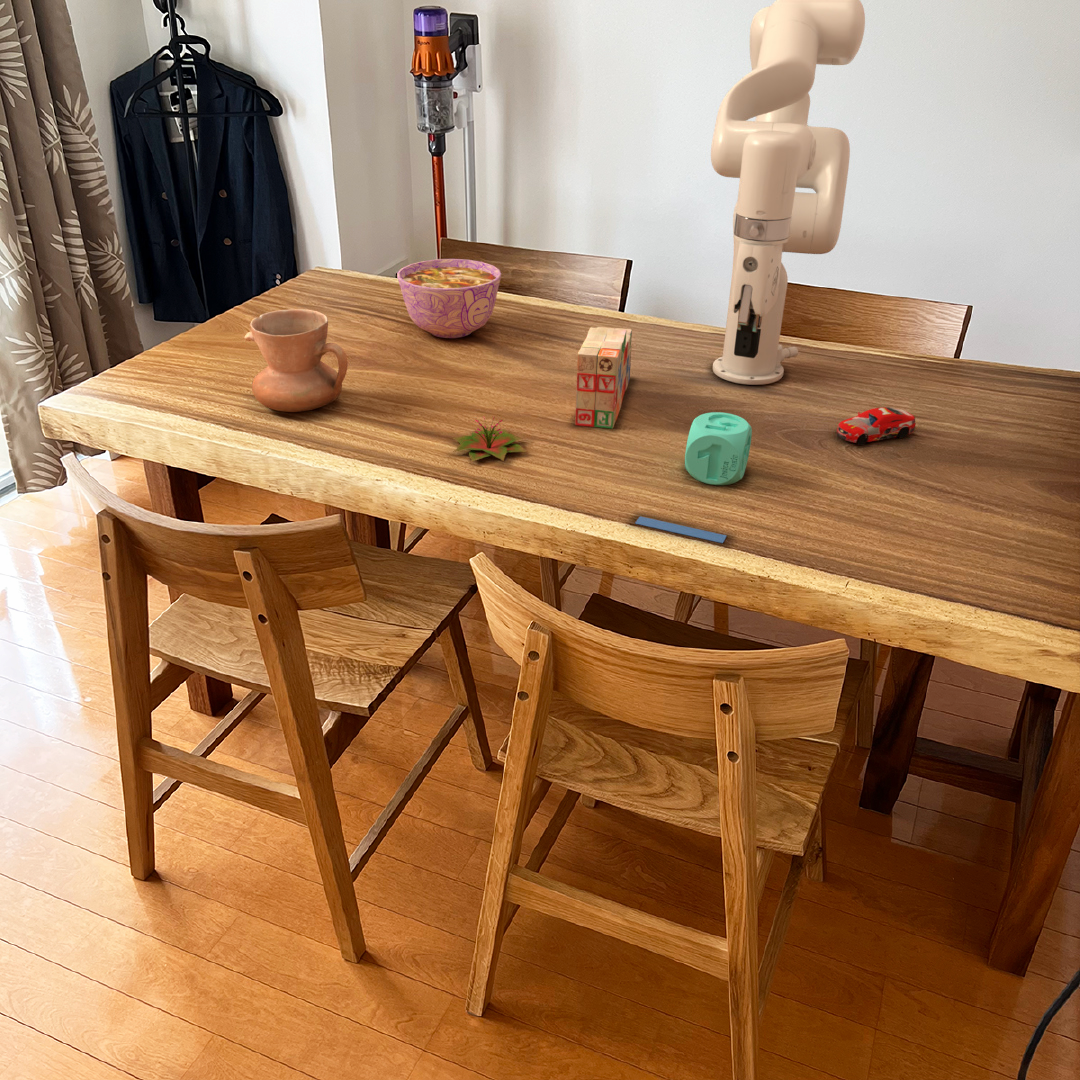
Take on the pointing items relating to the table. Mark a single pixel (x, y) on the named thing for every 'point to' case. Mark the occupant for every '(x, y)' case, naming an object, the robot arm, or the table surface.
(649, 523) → the tape line
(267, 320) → the ceramic jug
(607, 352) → the stack of blocks
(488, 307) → the bowl of food
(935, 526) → the table surface
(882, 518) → the table surface
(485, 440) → the lily flower
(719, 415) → the decorative dice
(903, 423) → the race car
